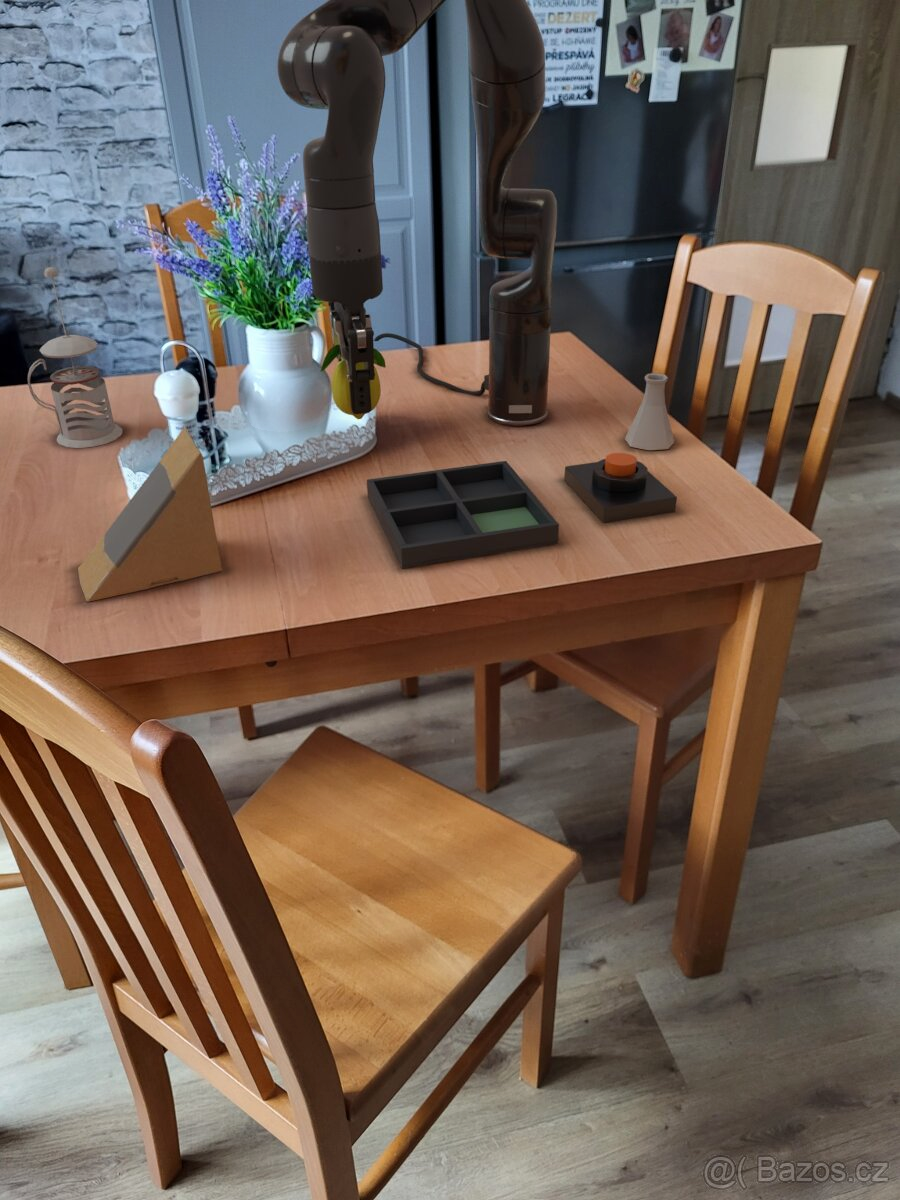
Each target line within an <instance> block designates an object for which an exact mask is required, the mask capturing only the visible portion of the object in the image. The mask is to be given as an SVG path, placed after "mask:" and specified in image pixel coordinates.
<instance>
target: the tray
mask: <svg viewBox="0 0 900 1200" xmlns="http://www.w3.org/2000/svg"><path fill="white" fill-rule="evenodd" d="M366 490H367V499H368V502H369V503H370V506H371V507H372V509H373V511H374V514H375V516H376V518H377V520H378V522H379V524H380V527H381V528H382V530H383V533H384V535H385V536H386V539H387V541H388V543H389V544H390V546H391V549H392V552H393V553H394V555H395V557H396V559H397V561H398V563H399V565H400V567H401V569H402V570H403V569H409V568H415V567H416V568H417V567H420V566H421V567H422V566H428V565H434V564H440V563H441V564H442V563H447V562H453V561H459V560H466V559H471V558H478V557H484V556H491V555H497V554H503V553H510V552H514V551H515V552H516V551H521V550H526V549H527V550H528V549H533V548H539V547H540V548H541V547H546V546H547V547H548V546H553V545H558V544H559V532H560V523H559V522H558V521H557V520H556V519H555V518H554V516H553V515H552V514H551V513H550V512H549V510H547V508H546V507H545V506H544V505H543V503H542V502H541V501H540V500H539V499H538V497H537V496H536V495H535V494H534V492H533V491H532V490H531V489H530V487H529V486H528V485H527V484H526V482H524V480H523V479H522V478H521V476H519V474H518V473H517V472H516V471H515V469H514V468H513V466H512V465H510V463H509V462H508V461H507V460H501V461H494V462H488V463H479V464H473V465H465V466H457V467H451V468H442V469H435V470H434V469H433V470H427V471H420V472H413V473H412V472H411V473H405V474H398V475H391V476H384V477H375V478H369V479H366Z"/></svg>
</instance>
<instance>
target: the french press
mask: <svg viewBox="0 0 900 1200" xmlns="http://www.w3.org/2000/svg"><path fill="white" fill-rule="evenodd" d="M43 275H44V277H45V278H50V279H51V282H52V287H53V290H54V294H55V299H56V302H57V307H58V311H59V315H60V319H61V324H62V327H63V332H64V335H60V336H57V337H55V338H52V339H50V340H48V341H47V342H46V343H44V344H43V345H42V346H41V347H40V348H39V352H40V353H41V355H42V356H43V357H46V358H51V359H69V358H70V360H71V367H70V366H69V367H64V368H62V369H59V370H56V371H53V372H52V373H51V374H50V377H49V379H50V380H51V382H52V383H51V385H50V390H51V395H52V398H53V402H54V404H52V403H48V402H45V401H44V400H41V399H40V398H39V397H38V396H37V394H36V393H35V392H34V391H33V387H32V384H31V377H32V373H33V372H34V370H35V369H36V367H38V366H40V364H41V365H42V366H43V370H45V371H47V368H48V367H47V364H46V360H45V359H44V358H38V359H37V360H36V361H34V362H33V363H32V364H31V366H30V367H29V370H28V373H27V386H28V389H29V392H30V395H31V396H32V399H33V400H34V401H35V402H36V403H37V404H38V405H39V406H41V407H42V408H44V409H47V410H50V411H53V412H55V416H56V419H57V423H58V427H59V430H60V432H59V434H58V435H57V437H56V440H55V441H56V442H57V443H58V445H60V446H62V447H66V448H72V449H74V448H75V449H84V448H93V447H98V446H102V445H106V444H109V443H111V442H113V441H116V440H117V439H118V438H120V437H121V436H123V435H122V434H123V432H124V431H123V428H122V427H121V426H119V425H118V424H117V423H115V421H114V417H113V411H112V407H111V402H110V399H109V394H108V390H107V386H106V385H107V384H106V380H105V379H104V378H103V377H101V376H100V374H101V370H100V368H98V367H95V366H94V367H93V366H90V365H89V366H88V365H82V366H80V365H78V366H75V364H74V360H73V358H76V357H83V356H85V355H90V354H91V353H93V352H95V351H96V350H97V348H98V346H99V344H98V342H97V341H96V340H94V339H92V338H89V337H86V336H83V335H79V334H67V331H66V327H65V323H64V318H63V314H62V309H61V306H60V305H61V304H60V301H59V297H58V293H57V289H56V284H55V280H54V278H56V277H59V275H60V274H59V271H58V269H56V268H55V267H52V266H50V267H46V268H45V269H44V271H43ZM69 385H70V386H73V385H81V386H85V387H87V388H90V389H85V388H83V387H70V388H68V389H66V390H64V391H63V392H61V391H62V390H63V389H64V388H66V387H67V386H69ZM74 401H82V402H83V403H72V402H74ZM84 402H86V403H87V402H88V403H91V404H93V405H96V406H93V405H89V404H88V403H87V404H86V403H84ZM69 403H70V404H69ZM75 409H78V410H77V411H74V410H75ZM86 410H87V411H86ZM72 411H74V412H72ZM89 411H91V412H89ZM92 412H96V413H99V414H95V413H92Z"/></svg>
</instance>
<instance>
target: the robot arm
mask: <svg viewBox="0 0 900 1200" xmlns="http://www.w3.org/2000/svg"><path fill="white" fill-rule="evenodd" d="M445 2H447V0H327V1H326V2H324V3H323V4H321V5H319V6H318V7H317V8H315V9H313V10H312V11H311V12H309V13H308V14H306V15H305V16H304V17H302V19H300V20H299V21H298V22H297V23H296V24H295V25H293V27H291V29H290V30H289V32H288V33H287V34H286V36H285V37H284V40H283V41H282V43H281V45H280V49H279V52H278V56H277V61H276V62H277V64H276V65H277V66H276V68H277V77H278V80H279V81H278V82H279V84H280V86H281V89H282V90H283V92H284V94H285V95H286V96H287V97H288V98H289V99H290V100H291V101H293V102H294V103H295V104H297V105H299V106H301V107H304V108H308V109H313V110H314V109H315V110H327V111H328V112H327V121H326V127H325V132H324V136H320V137H317V138H313V139H312V140H310V141H309V142H307V143H306V144H305V146H304V148H303V151H302V171H303V182H304V191H305V202H306V239H307V248H308V249H307V250H308V259H309V269H310V279H311V281H310V282H311V289H312V290H311V291H312V294H313V296H314V297H315V298H316V299H318V300H320V301H322V302H325V303H327V304H328V307H329V312H328V314H329V322H330V325H331V340H332V343H333V344H332V347H334V346H335V345H338V344H339V350H340V354H339V355H338V356H337V357H336V358H335V359H337V362H338V363H339V362H340V361H341V360H343V361H345V362H346V367H347V379H348V381H349V390H350V403H351V410H352V412H353V413H354V414H363V413H367V414H369V413H371V412H372V411H371V409H372V408H371V393H370V380H374V376H375V372H374V366H375V364H374V347H375V346H374V342H379V341H380V340H382V339H384V338H391V339H395V340H398V341H400V342H403V343H405V344H407V345H409V346H412V347H413V348H416V349H417V351H418V359H419V360H418V363H417V365H416V366H417V367H416V369H417V373H418V374H419V375H420V376H421V377H422V378H423V379H425V380H426V381H428V382H430V383H432V384H435V385H438V386H441V387H444V388H447V389H448V390H451V391H452V392H453V391H454V392H455V393H460V394H465V395H470V396H476V397H479V396H482V395H484V394H485V392H486V391H488V408H487V417H488V418H489V419H490V420H491V421H493V422H495V423H497V424H501V425H506V426H513V427H514V426H515V427H518V426H519V427H521V426H522V427H523V426H531V425H536V424H539V423H541V422H543V421H545V420H546V419H547V418H548V395H549V393H548V392H549V376H550V372H549V371H550V354H551V353H550V349H551V323H552V304H553V303H552V302H553V298H552V297H553V296H552V295H553V272H554V271H553V270H554V259H555V258H554V257H555V247H556V238H557V230H558V229H557V228H558V202H557V198H556V196H555V193H554V192H553V191H552V190H550V189H545V188H544V189H543V188H505V187H504V185H503V182H504V177H505V175H506V172H507V170H508V168H509V167H510V164H511V162H512V160H513V158H514V157H515V155H516V152H517V151H518V150H519V148H520V146H521V145H522V143H523V142H524V141H525V139H526V138H527V136H528V134H529V133H530V132H531V130H532V128H533V127H534V125H535V124H536V122H537V121H538V118H539V117H540V114H541V113H542V110H543V107H544V104H545V100H546V49H545V42H544V39H543V36H542V35H543V34H542V33H541V30H540V27H539V25H538V23H537V20H536V18H535V16H534V14H533V11H532V9H531V8H530V6H529V4H528V1H527V0H464V7H465V9H464V10H465V17H466V19H465V20H466V27H467V41H468V64H469V77H470V78H469V79H470V90H471V101H472V108H473V117H474V128H475V138H476V148H477V150H476V151H477V172H478V173H477V174H478V178H477V179H478V225H479V226H478V227H479V228H478V229H479V239H480V244H481V247H482V250H483V252H484V253H485V254H486V255H487V256H489V257H491V258H497V259H517V260H519V259H520V260H530V263H531V264H530V266H529V267H528V268H526V269H525V270H523V271H521V273H518V274H516V275H514V276H511V277H507V278H505V279H502V280H499V281H496V282H495V283H493V284H492V286H491V287H490V289H489V294H488V295H489V296H488V297H489V298H488V302H489V304H488V305H489V306H488V307H489V311H488V312H489V313H488V314H489V315H488V317H489V319H488V323H489V324H488V325H489V327H488V328H489V329H488V331H489V332H488V333H489V334H488V374H484V376H483V381H482V383H481V385H480V389H479V390H475V391H471V390H466V389H463V388H460V387H458V386H456V385H453V384H451V383H448V382H446V381H444V380H441V379H438V378H435V377H433V376H431V375H429V374H427V373H426V372H425V371H424V370H423V364H424V359H425V358H424V349H423V347H422V346H421V345H420V344H419V343H417V342H416V341H414V340H411V339H409V338H407V337H404V336H402V335H399V334H396V333H391V332H389V333H388V332H386V333H381V334H379V335H377V336H375V332H374V330H373V325H372V318H371V314H370V313H367V309H366V307H365V303H366V302H367V301H368V300H373V299H376V298H378V297H379V296H381V294H382V292H383V290H384V285H383V282H384V281H383V267H382V252H381V251H382V249H381V231H380V221H379V215H378V210H377V203H376V190H375V169H374V155H375V150H376V144H377V139H378V133H379V128H380V127H379V126H380V121H381V117H382V110H383V104H384V98H385V91H386V67H385V62H384V59H383V57H385V56H389V55H392V54H396V53H397V52H398V51H400V50H401V49H403V48H404V47H405V46H406V45H407V44H408V43H409V42H410V41H411V40H412V38H413V37H414V36H415V35H416V34H417V33H418V32H419V31H420V29H421V28H422V27H423V26H424V25H425V24H426V23H427V22H428V20H430V18H431V17H432V16H433V15H434V14H435V13H436V11H437V10H439V8H441V6H442V5H443V4H444V3H445ZM374 336H375V338H374ZM359 362H364V368H365V369H362V370H356V364H357V363H359ZM370 411H371V412H370Z"/></svg>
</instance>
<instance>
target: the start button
mask: <svg viewBox="0 0 900 1200" xmlns="http://www.w3.org/2000/svg"><path fill="white" fill-rule="evenodd" d="M604 459H605V472H606V473H608V474H611V475H614V476H630V475H633V474H635V473H636V464H637V461H638V459H637V457H636V456H634V455H633V454H631V453H626V452H613V453H609V454H608V455H606V456H605V458H604Z"/></svg>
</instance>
